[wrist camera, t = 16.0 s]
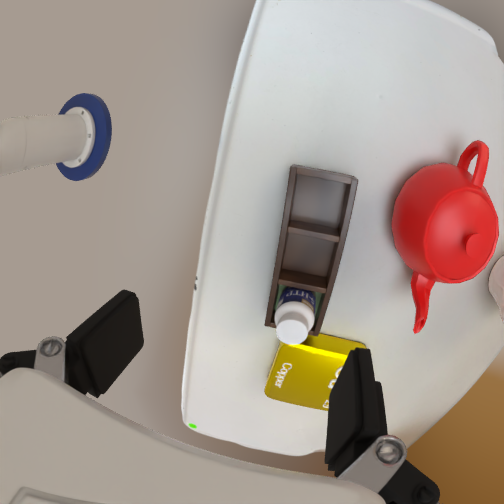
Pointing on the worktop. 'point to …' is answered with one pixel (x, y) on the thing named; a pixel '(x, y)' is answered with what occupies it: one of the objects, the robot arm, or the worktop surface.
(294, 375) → the element tile
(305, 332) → the pill bottle
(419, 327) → the teapot
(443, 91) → the worktop surface
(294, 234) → the rack
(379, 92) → the worktop surface
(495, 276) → the cup
